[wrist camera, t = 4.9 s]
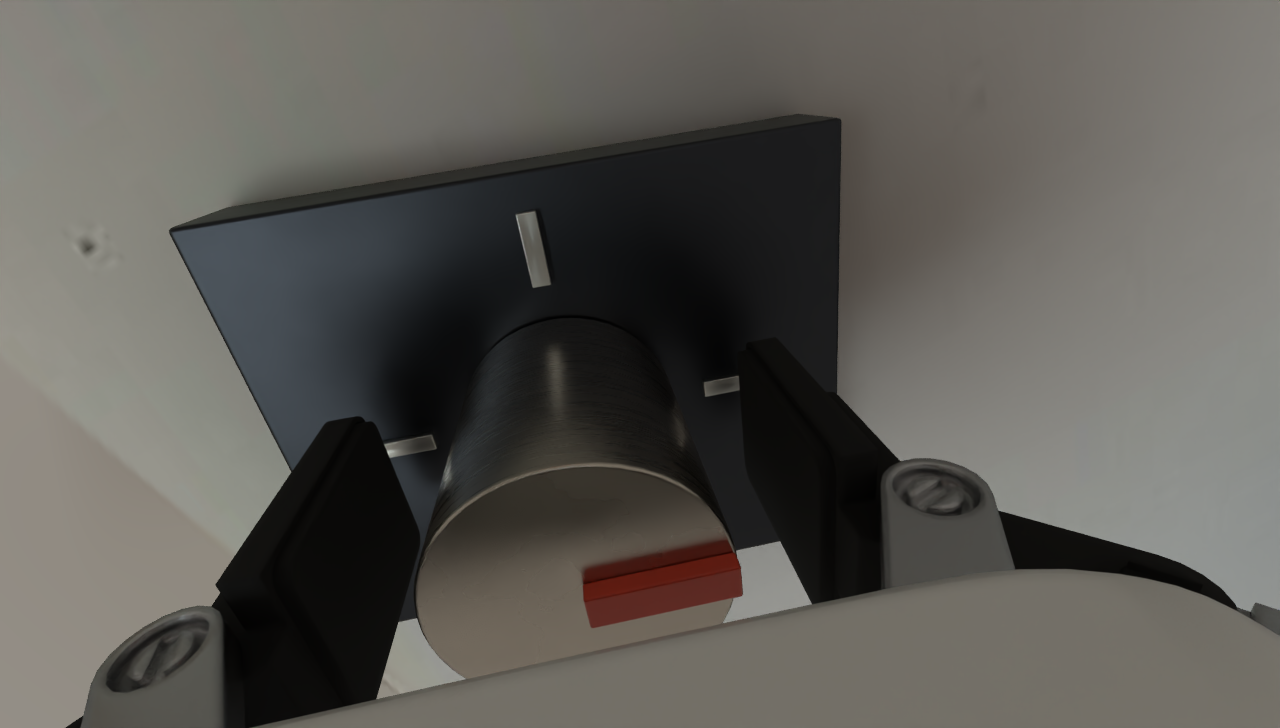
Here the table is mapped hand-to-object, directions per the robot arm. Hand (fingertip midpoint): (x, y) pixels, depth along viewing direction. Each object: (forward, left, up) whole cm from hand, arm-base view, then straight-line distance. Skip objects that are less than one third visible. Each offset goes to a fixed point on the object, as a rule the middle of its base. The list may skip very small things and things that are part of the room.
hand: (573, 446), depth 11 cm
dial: (0, 0, -1) cm, 1 cm away
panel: (0, 0, -3) cm, 3 cm away
